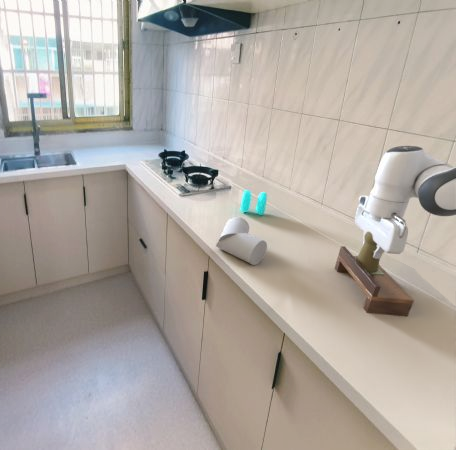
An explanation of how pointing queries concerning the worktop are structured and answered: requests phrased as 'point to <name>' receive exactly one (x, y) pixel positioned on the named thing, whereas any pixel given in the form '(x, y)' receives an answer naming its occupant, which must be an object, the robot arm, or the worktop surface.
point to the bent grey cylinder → (242, 241)
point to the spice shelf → (375, 287)
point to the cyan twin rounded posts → (247, 199)
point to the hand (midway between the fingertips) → (370, 252)
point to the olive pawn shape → (368, 254)
